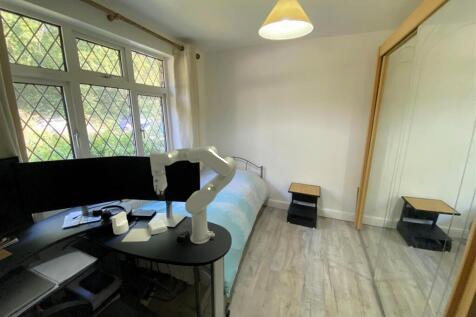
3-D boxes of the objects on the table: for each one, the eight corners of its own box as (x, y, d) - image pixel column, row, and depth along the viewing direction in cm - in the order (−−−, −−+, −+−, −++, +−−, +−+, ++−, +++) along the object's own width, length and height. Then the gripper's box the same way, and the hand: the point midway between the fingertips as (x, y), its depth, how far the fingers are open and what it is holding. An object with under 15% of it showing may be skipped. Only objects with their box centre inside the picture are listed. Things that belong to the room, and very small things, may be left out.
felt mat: (155, 228, 138) (155, 228, 138) (147, 241, 125) (147, 240, 125) (132, 229, 138) (132, 228, 138) (121, 242, 124) (121, 241, 124)
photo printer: (167, 231, 135) (162, 223, 145) (167, 225, 135) (162, 218, 144) (151, 235, 129) (147, 227, 139) (151, 229, 129) (147, 221, 138)
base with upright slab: (121, 225, 142) (119, 210, 139) (131, 227, 140) (129, 212, 137) (110, 233, 134) (107, 217, 131) (121, 235, 131) (118, 218, 128)
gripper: (160, 175, 114) (164, 204, 118) (168, 168, 128) (171, 194, 132) (147, 175, 114) (151, 205, 118) (156, 168, 128) (160, 195, 132)
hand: (161, 199), depth 125 cm, fingers closed
